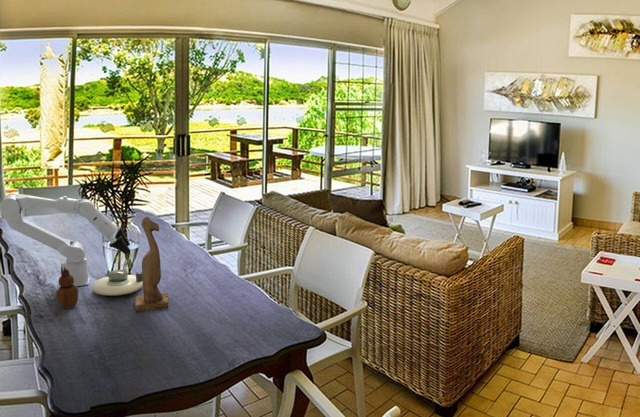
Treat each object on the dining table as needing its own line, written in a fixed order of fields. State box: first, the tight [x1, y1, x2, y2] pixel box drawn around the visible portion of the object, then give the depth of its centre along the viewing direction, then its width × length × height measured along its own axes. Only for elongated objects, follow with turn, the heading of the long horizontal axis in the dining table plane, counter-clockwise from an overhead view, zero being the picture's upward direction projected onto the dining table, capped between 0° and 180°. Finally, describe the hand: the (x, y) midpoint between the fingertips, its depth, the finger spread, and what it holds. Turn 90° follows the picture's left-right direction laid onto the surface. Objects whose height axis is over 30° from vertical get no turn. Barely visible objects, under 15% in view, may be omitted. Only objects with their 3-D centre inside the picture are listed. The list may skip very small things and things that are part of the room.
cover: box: [107, 269, 129, 282], centre depth 221 cm, size 7×7×3 cm
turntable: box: [92, 271, 143, 296], centre depth 217 cm, size 18×18×5 cm
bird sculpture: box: [134, 216, 169, 313], centre depth 200 cm, size 11×12×32 cm
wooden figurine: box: [56, 266, 79, 309], centre depth 199 cm, size 7×6×15 cm
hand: (128, 249), depth 228 cm, fingers open, 7 cm apart
